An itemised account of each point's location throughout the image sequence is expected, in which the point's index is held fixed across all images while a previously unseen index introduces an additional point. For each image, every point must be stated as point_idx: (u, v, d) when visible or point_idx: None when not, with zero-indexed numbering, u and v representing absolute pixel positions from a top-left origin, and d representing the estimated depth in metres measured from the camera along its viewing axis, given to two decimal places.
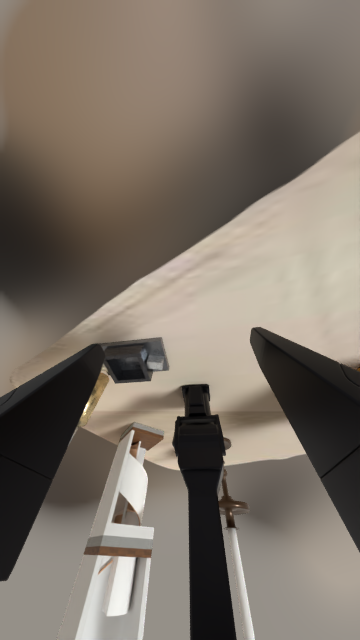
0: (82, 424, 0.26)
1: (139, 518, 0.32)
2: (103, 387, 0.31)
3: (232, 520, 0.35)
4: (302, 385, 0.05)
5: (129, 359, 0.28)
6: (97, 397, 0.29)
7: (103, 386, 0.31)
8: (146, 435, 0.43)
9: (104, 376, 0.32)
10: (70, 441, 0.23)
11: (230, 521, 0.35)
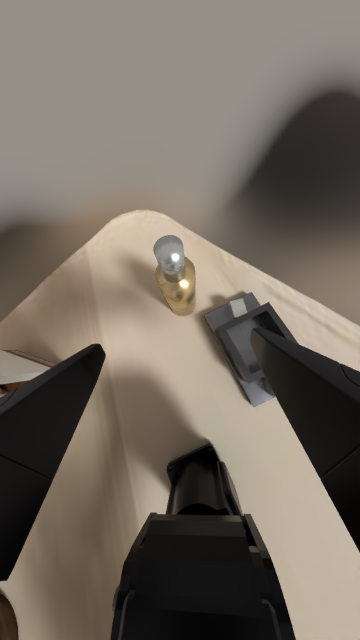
0: (165, 285, 0.14)
1: None
2: (186, 310, 0.20)
3: None
4: (302, 385, 0.05)
5: None
6: (186, 303, 0.18)
7: (187, 310, 0.20)
8: None
9: (193, 309, 0.22)
10: (169, 266, 0.12)
11: None
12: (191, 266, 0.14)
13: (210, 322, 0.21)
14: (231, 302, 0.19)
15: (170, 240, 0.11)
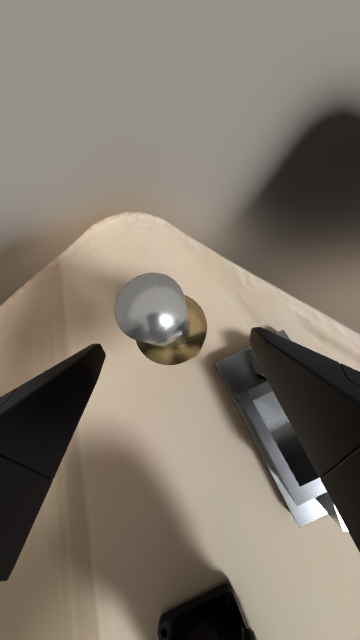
0: (153, 350, 0.08)
1: None
2: None
3: None
4: (302, 385, 0.05)
5: None
6: None
7: None
8: None
9: None
10: (152, 343, 0.05)
11: None
12: (199, 315, 0.08)
13: (224, 375, 0.14)
14: None
15: (154, 287, 0.05)
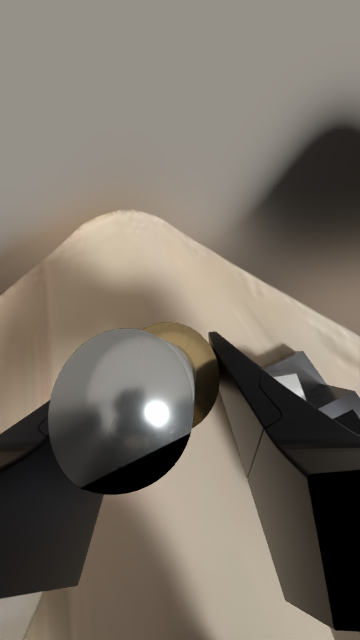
0: None
1: None
2: None
3: None
4: (230, 389, 0.05)
5: None
6: None
7: None
8: None
9: None
10: None
11: None
12: (209, 358, 0.06)
13: None
14: None
15: (131, 362, 0.02)
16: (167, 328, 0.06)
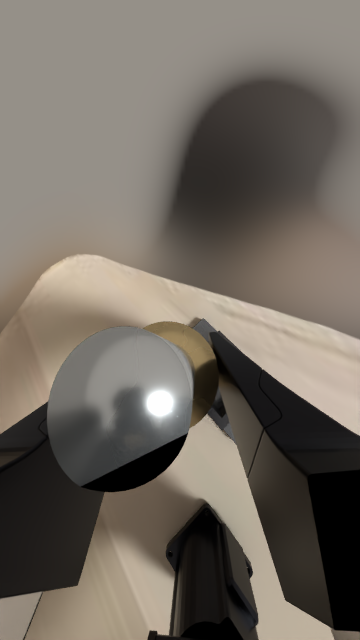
0: None
1: None
2: None
3: None
4: (230, 389, 0.05)
5: None
6: None
7: None
8: None
9: None
10: None
11: None
12: (208, 357, 0.06)
13: None
14: None
15: (130, 360, 0.02)
16: (166, 327, 0.06)
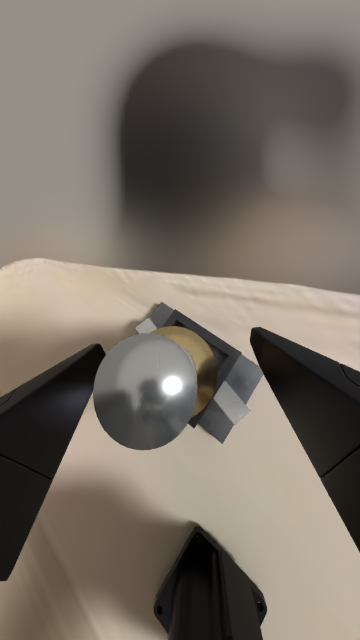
0: None
1: None
2: None
3: None
4: (302, 385, 0.05)
5: None
6: None
7: None
8: None
9: None
10: None
11: None
12: (208, 357, 0.06)
13: None
14: (137, 328, 0.15)
15: (152, 357, 0.03)
16: (172, 331, 0.07)
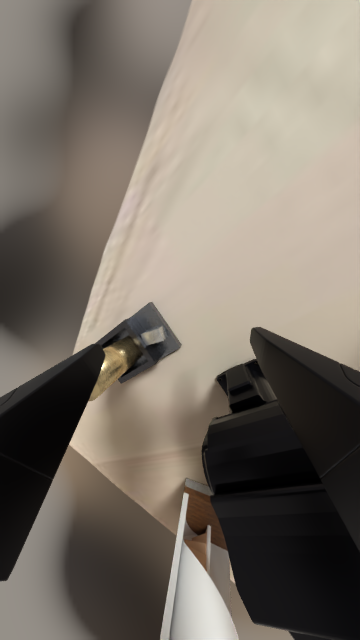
0: (92, 395, 0.14)
1: None
2: (135, 355, 0.20)
3: None
4: (302, 385, 0.05)
5: None
6: (125, 363, 0.18)
7: (136, 354, 0.20)
8: (211, 507, 0.25)
9: None
10: None
11: None
12: None
13: None
14: None
15: None
16: None
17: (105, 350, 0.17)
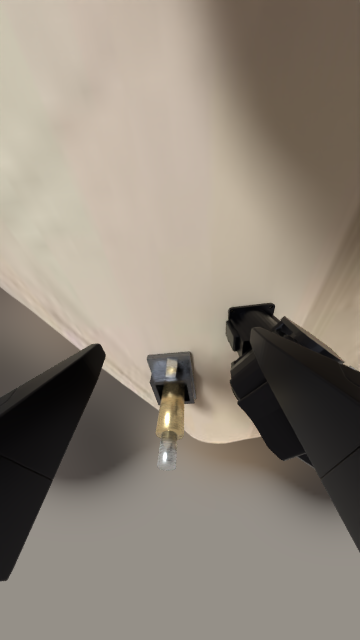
0: (180, 434, 0.21)
1: None
2: (178, 387, 0.26)
3: None
4: (302, 385, 0.05)
5: None
6: (176, 399, 0.24)
7: (177, 386, 0.26)
8: None
9: None
10: (173, 458, 0.18)
11: None
12: (158, 431, 0.21)
13: (194, 395, 0.31)
14: None
15: (162, 467, 0.18)
16: (160, 437, 0.22)
17: (160, 406, 0.24)
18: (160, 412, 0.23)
